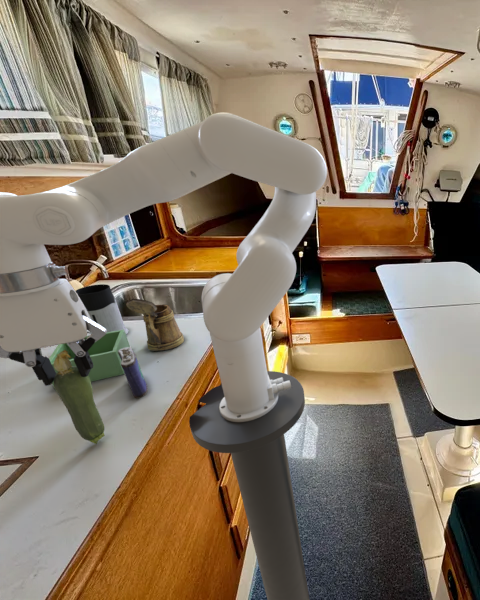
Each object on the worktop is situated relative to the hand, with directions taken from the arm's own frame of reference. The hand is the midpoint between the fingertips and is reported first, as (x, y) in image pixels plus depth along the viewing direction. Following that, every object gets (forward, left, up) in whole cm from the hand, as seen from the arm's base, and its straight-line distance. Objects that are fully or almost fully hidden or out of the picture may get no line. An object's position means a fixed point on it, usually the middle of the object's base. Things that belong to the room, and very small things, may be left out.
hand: (69, 375), depth 56 cm
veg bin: (+5, -29, -15) cm, 33 cm away
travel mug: (+7, -46, -15) cm, 49 cm away
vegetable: (0, 0, -15) cm, 15 cm away
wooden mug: (-9, -33, -15) cm, 37 cm away
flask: (-5, -15, -15) cm, 22 cm away
